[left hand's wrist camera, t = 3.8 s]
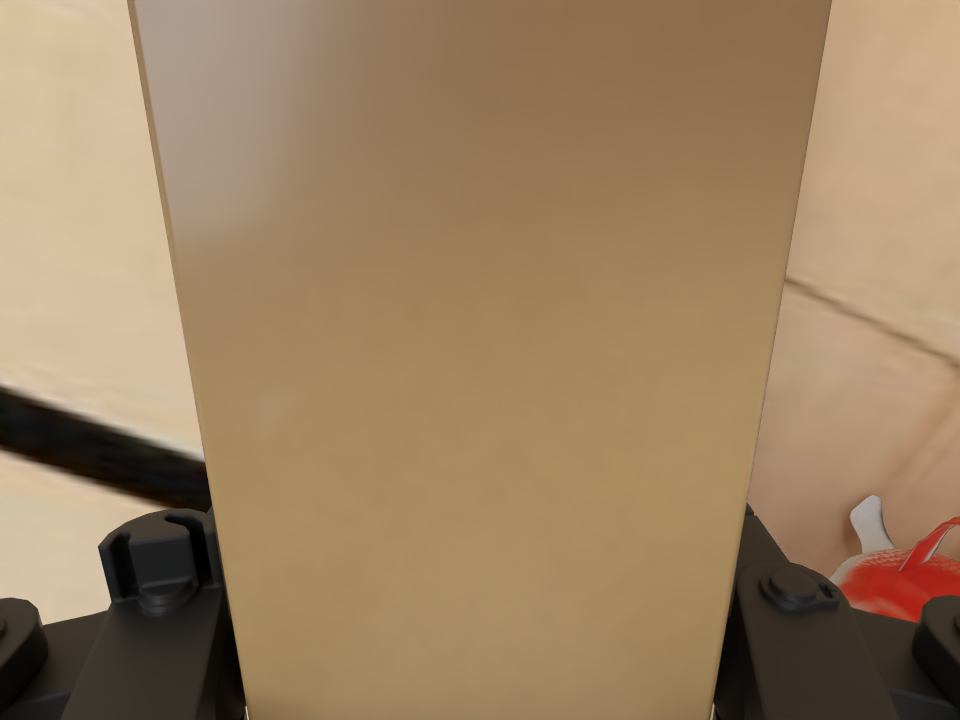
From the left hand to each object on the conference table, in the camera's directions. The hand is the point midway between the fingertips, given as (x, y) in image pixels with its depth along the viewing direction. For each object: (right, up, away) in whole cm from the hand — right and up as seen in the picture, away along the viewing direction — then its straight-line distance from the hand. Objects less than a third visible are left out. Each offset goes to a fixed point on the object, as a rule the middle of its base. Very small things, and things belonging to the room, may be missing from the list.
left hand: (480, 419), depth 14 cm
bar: (0, +7, -2) cm, 8 cm away
